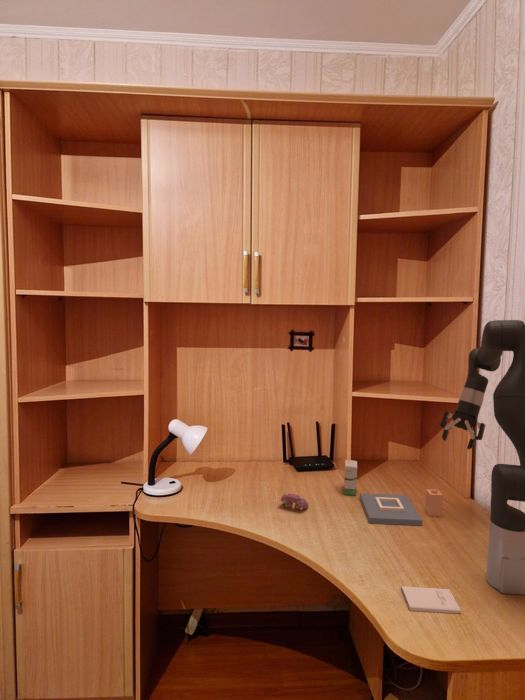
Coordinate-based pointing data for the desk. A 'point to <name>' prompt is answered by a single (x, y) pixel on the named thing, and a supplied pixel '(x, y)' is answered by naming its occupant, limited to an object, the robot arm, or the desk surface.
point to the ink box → (350, 477)
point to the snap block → (433, 502)
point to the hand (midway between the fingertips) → (456, 444)
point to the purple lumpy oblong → (294, 501)
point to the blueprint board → (390, 509)
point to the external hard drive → (430, 600)
